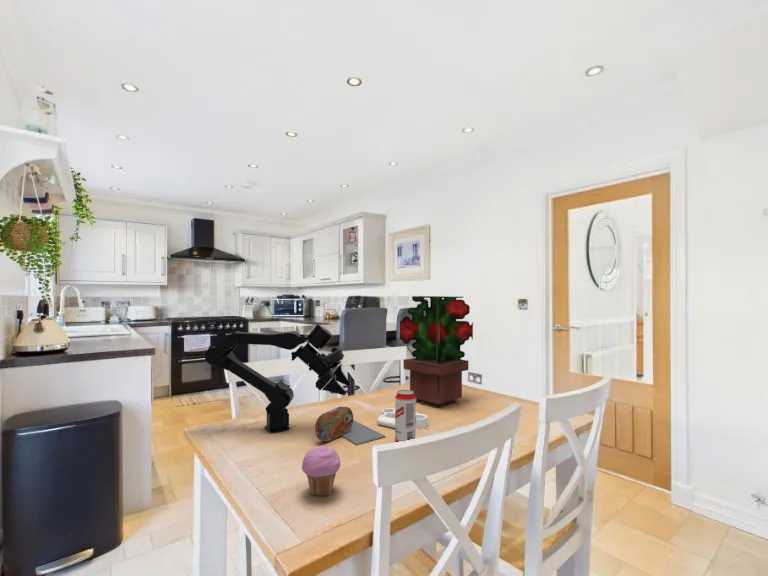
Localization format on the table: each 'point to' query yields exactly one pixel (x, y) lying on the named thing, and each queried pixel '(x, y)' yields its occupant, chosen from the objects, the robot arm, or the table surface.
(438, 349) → the potted plant
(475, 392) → the table surface
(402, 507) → the table surface
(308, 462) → the cupcake
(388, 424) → the white fidget spinner
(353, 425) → the mat
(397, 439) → the beer can
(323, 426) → the tin
